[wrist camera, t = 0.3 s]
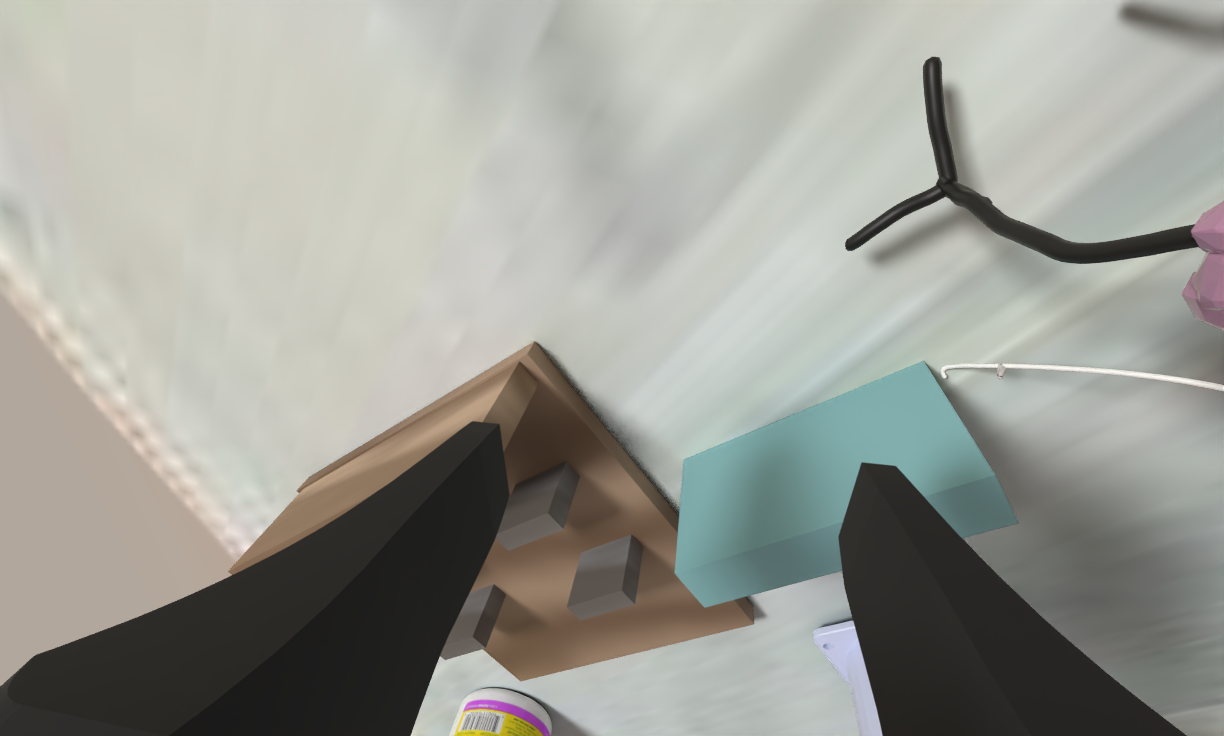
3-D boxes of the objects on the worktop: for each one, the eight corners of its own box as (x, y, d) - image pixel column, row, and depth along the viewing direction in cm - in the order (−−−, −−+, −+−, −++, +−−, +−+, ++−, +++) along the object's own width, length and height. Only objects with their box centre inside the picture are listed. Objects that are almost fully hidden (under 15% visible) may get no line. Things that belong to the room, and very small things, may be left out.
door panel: (943, 399, 20) (1018, 522, 15) (707, 488, 24) (704, 607, 19) (922, 359, 19) (995, 474, 14) (683, 458, 23) (674, 573, 18)
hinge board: (753, 606, 28) (760, 733, 23) (525, 665, 34) (492, 773, 29) (534, 341, 21) (478, 435, 16) (309, 477, 28) (220, 573, 23)
